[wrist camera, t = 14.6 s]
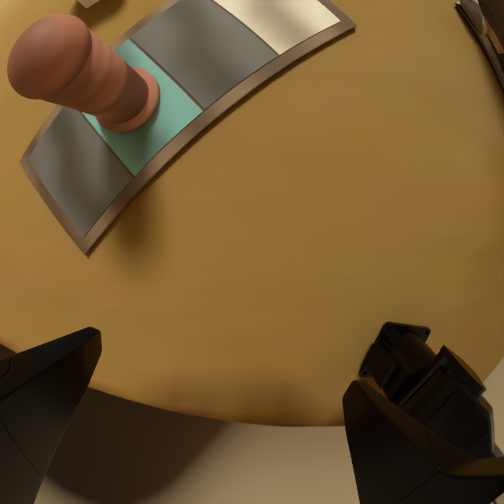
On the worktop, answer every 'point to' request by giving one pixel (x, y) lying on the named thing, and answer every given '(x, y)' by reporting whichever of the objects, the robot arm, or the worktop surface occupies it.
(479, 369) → the worktop surface
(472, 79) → the worktop surface
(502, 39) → the radio
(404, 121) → the worktop surface
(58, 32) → the pawn
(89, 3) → the die
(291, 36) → the game board
